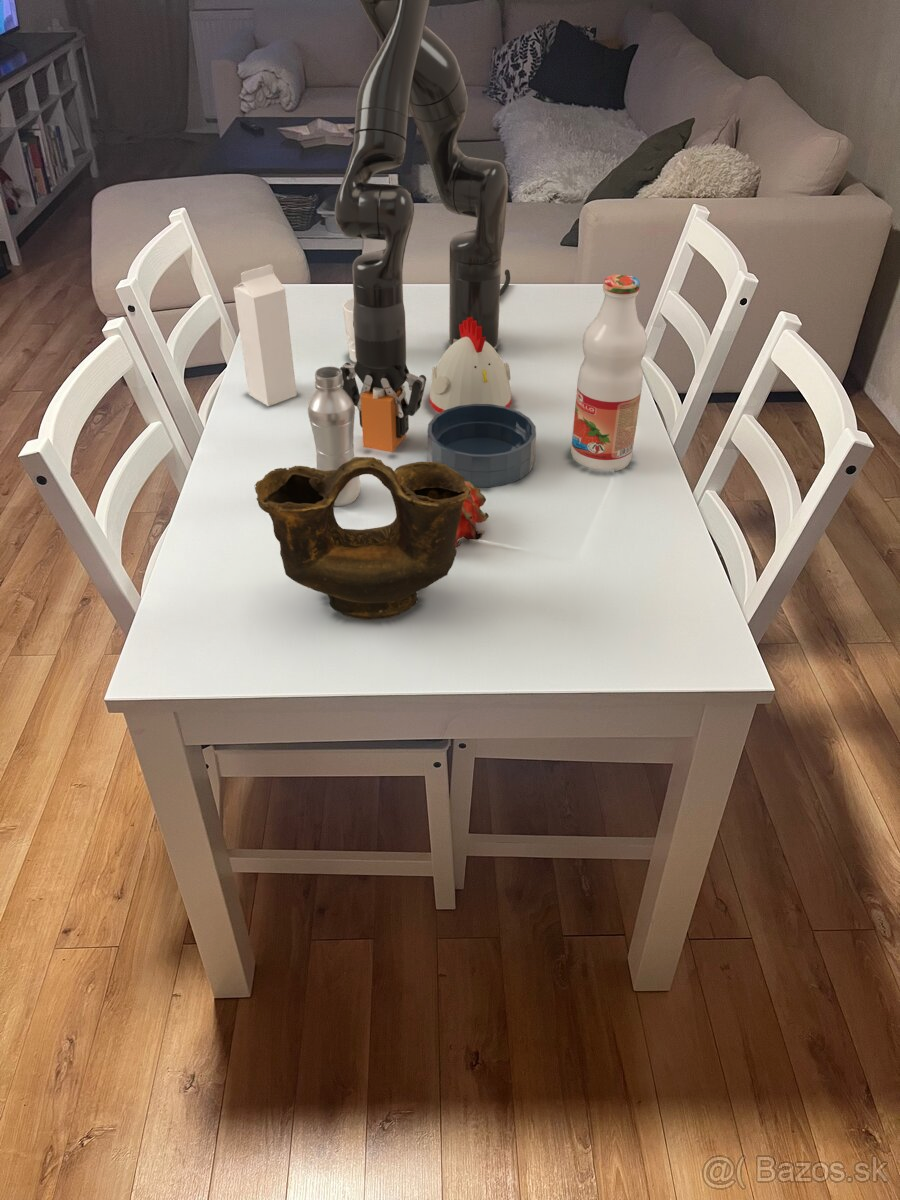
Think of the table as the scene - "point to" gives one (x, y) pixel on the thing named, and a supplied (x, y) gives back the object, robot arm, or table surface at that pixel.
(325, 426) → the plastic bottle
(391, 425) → the carton
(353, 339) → the white cup
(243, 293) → the milk
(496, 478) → the bowl
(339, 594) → the pottery vessel
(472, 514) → the dragon fruit
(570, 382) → the table surface
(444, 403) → the kitchen timer
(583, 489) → the table surface
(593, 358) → the fruit juice
